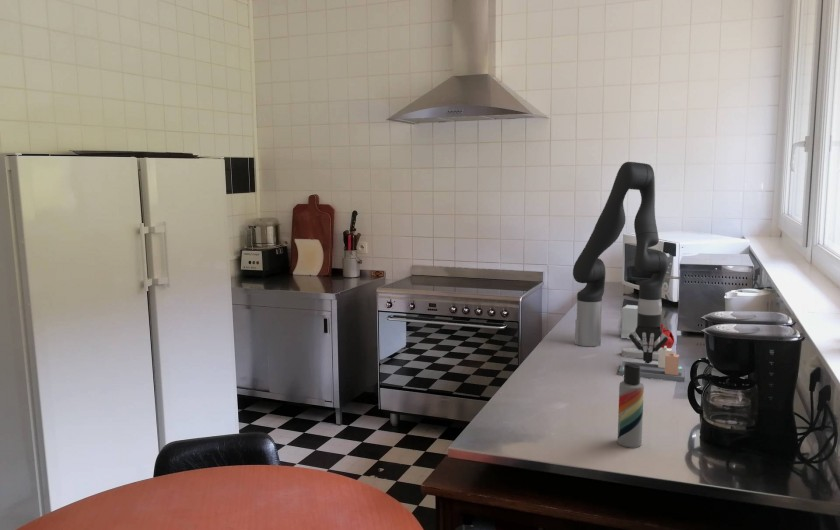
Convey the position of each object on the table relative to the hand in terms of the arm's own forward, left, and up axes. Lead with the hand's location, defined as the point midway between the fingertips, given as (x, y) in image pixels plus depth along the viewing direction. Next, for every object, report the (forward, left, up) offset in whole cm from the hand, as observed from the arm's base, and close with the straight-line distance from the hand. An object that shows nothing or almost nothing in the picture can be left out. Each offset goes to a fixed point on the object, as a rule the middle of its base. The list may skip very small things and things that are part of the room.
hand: (647, 362), depth 223 cm
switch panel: (+2, -3, -3) cm, 5 cm away
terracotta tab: (+8, -7, -1) cm, 10 cm away
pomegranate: (+3, +31, -3) cm, 31 cm away
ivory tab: (+5, 0, -1) cm, 6 cm away
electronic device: (-2, +16, -3) cm, 16 cm away
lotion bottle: (0, -65, -3) cm, 65 cm away
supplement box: (-8, +44, -3) cm, 45 cm away
